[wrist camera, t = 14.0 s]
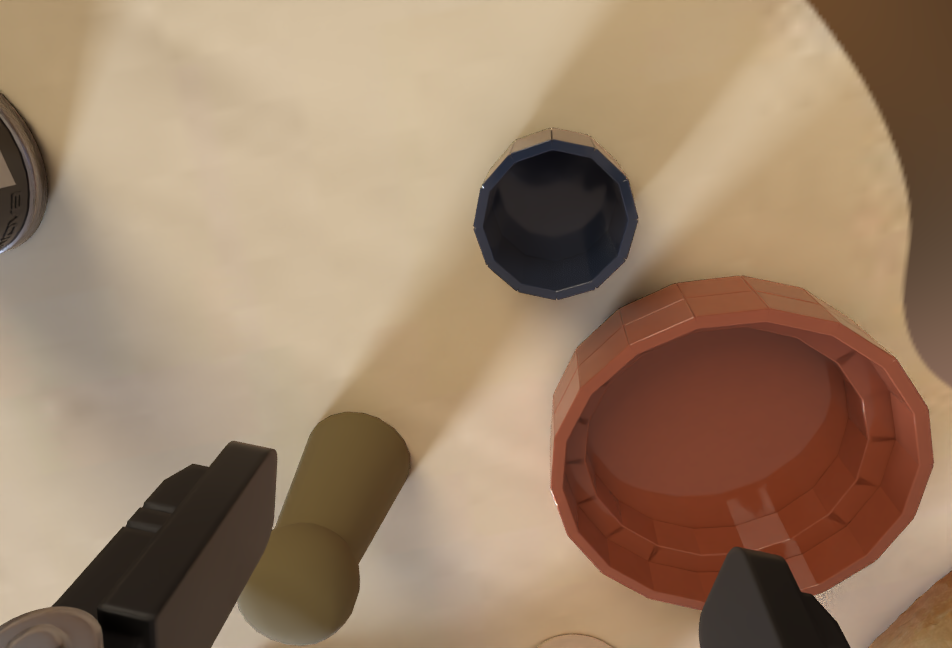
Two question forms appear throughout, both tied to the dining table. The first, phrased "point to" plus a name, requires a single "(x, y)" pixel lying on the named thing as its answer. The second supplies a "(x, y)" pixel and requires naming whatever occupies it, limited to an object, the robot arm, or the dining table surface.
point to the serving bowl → (734, 439)
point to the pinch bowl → (555, 215)
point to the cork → (325, 529)
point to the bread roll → (923, 621)
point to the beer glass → (573, 642)
